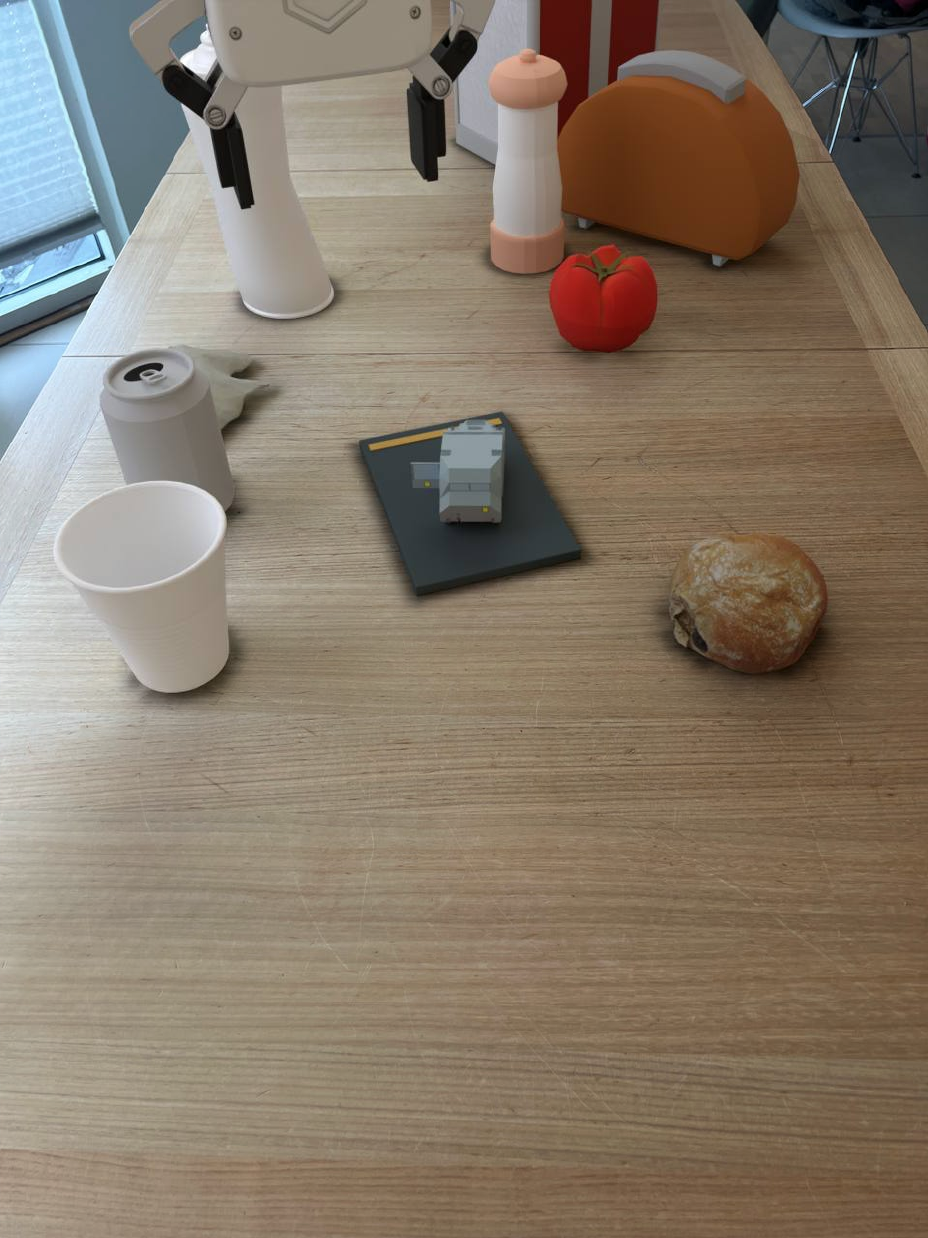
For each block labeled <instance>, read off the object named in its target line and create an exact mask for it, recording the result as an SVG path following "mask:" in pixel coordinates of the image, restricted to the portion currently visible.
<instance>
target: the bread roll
mask: <svg viewBox="0 0 928 1238" xmlns="http://www.w3.org/2000/svg"><path fill="white" fill-rule="evenodd" d="M824 577H825V575H823V574H822V572H821V571H820V568H819V567H818V566H817V563H815V561H814V560H813V559H812V558H811V557H810V556H809V554H807V553H806V551H804V549H802V548H801V547H800V546H799V544H797V543H795V542H794V541H792V540H791V539H788V538H786V537H785V536H783V535H780V534H764V533H763V532H752V533H750V534H725V535H716V536H711V537H708V538H705V539H702V540H700V541H698V542H696V543H695V544H693V545H692V546H691V547H690V548H689V549H687V550H686V551H685V552H684V553H683V555H682V556H681V557H680V558H679V560H678V562H677V564H676V565H675V567H674V569H673V572H672V574H671V577H670V579H669V586H668V589H669V597H668V598H669V599H668V601H669V608H668V612H669V615H670V619H671V622H672V623H673V625H674V628H673V637H674V638H675V640H676V641H677V644H680V645H681V646H683V647H684V648H689V649H691V650H693V651H695V652H697V653H698V654H700V655H701V656H703V657H705V658H706V659H709V660H711V661H713V662H716V663H718V664H721V665H723V666H725V667H727V668H729V669H730V670H733V671H737V672H741V673H745V674H753V675H755V674H765V673H771V672H774V671H778V670H781V669H782V670H783V669H785V668H787V667H789V666H791V665H794V664H795V663H797V662H798V660H799V659H800V658H801V656H803V654H804V652H805V651H806V649H807V648H808V647H809V645H810V644H811V643H812V641H813V640H814V638H815V637H816V635H817V631H818V630H819V628H820V627H821V625H822V622H823V620H824V617H825V616H826V613H827V609H828V603H829V602H828V601H829V599H828V589H827V583H826V581H825V579H824Z"/></svg>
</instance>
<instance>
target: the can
mask: <svg viewBox="0 0 928 1238" xmlns="http://www.w3.org/2000/svg"><path fill="white" fill-rule="evenodd" d="M102 385H103V388H102V391H101V392H100V394H99V407H100V411H101V413H102V416H103V419H104V422H105V425H106V429H107V431H108V434H109V437H110V440H111V443H112V446H113V449H114V452H115V454H116V458H117V460H118V464H119V467H120V470H121V473H122V477H123V479H124V482H125V486H126V485H130V484H134V483H141V482H148V481H173V482H182V483H185V484H189V485H193V486H196V487H198V488H200V489H203V490H205V491H206V492H208V493H209V494H211V495H212V496H213V497H215V498H216V500H217V501H218V502H219V503H220V505H221V506H222V508H223V510H224V513H225V512H226V511H227V510H228V509H229V508H230V506H232V503H233V501H234V499H235V495H236V491H235V483H234V479H233V475H232V471H231V468H230V463H229V459H228V455H227V451H226V450H227V449H226V447H225V443H224V439H223V435H222V429H221V430H220V426H219V422H218V418H217V414H216V409H215V405H214V401H213V397H212V393H211V389H210V385H209V381H208V378H207V376H206V375H205V374H204V373H203V371H202V370H200V369H198V368H196V367H195V362H194V361H193V360H192V358H191V357H190V356H189V355H187V354H185V353H183V352H181V351H178V350H173V349H168V347H167V348H159V347H158V348H157V347H156V348H155V347H154V348H147V349H142V350H137V351H135V352H132V353H128V354H126V355H125V356H122V357H120V358H119V359H117V360H115V361H114V362H113V363H112V364H111V365H110V366H108V367H107V369H106V370H105V372H104V373H103V376H102Z"/></svg>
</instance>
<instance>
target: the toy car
mask: <svg viewBox="0 0 928 1238" xmlns="http://www.w3.org/2000/svg"><path fill="white" fill-rule="evenodd" d="M452 427H453V426H451V428H448V431H443V438H442V446H441V454H440V463H432V462H411V474H412V484H413V488H440V521H443V522H449V523H450V522H451V521H459V519H460V522H493V523H500V522H501V519H502V498H503V484H504V463H505V446H504V444H505V428H499V427H501V426H499V427H498V428H496V426H495V425H494V423H488V422H487V421H486V420H466V421H465V422H464V423H460V425H459V426H458V428H454V427H453V428H452Z"/></svg>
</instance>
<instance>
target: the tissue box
mask: <svg viewBox="0 0 928 1238" xmlns="http://www.w3.org/2000/svg"><path fill="white" fill-rule="evenodd" d="M662 8H663V0H495V4H494V6H493V9H492V11H491V14H490V16H489V19H488V21H487V23H486V26H485V28H484V31H483V33H482V35H480V37H479V40H478V42H477V43H478V48H477V52H476V54H475V55H474V57H473V58H472V59H471V60H470V62H469V63H468V64H467V66H466V67H465V68H464V69H463V71H462V72H461V73H460V75H459V76H458V77H457V78H456V80H455V81H454V82H453V102H454V103H453V104H454V122H455V123H454V124H455V125H454V126H455V143H456V144H457V145H458V146H460V147H462V148H464V149H466V150H468V151H469V152H471V153H473V154H475V155H477V156H478V157H480V158H482V159H484V160H486V161H488V162H489V163H491V164H493V165H495V166H496V160H497V152H498V103H497V102H496V101H495V100H494V99H493V98H492V96H491V93H490V90H489V85H488V83H489V79H490V75H491V73H492V72H493V70H494V68H495V67H496V65H497V64H498V63H500V62H502V61H504V60H506V59H508V58H510V57H513V56H516V55H519V54H520V52H521V51H522V50H524V49H532V50H534V51H535V52H536V54H537V55H543V56H545V57H548V58H550V59H553V60H555V61H557V62H558V63H559V64H560V65H561V67H562V68H563V70H564V72H565V75H566V79H567V87H566V90H565V92H564V94H563V96H562V98H561V100H559V101H558V119H557V140H558V138H559V136H560V133H561V131H562V129H563V127H564V126H565V124H566V123H567V121H568V120H569V118H570V117H571V115H572V114H573V113H574V111H575V110H576V108H577V107H578V105H579V104H581V103H582V102H583V101H585V100H586V99H588V98H589V97H591V96H592V95H594V94H595V93H597V92H598V91H600V90H601V89H603V88H605V87H607V86H608V85H610V84H612V83H613V82H615V81H617V78H618V67H619V66H621V65H623V64H624V63H626V62H628V61H630V60H631V59H633V58H635V57H637V56H638V55H642V54H647V53H651V52H655V51H659V47H660V46H659V44H660V32H661V21H662ZM456 10H457V5H456V3H454V2H452V1H450V0H449V12H450V27H451V26H452V24H453V22H454V17H455V14H456Z"/></svg>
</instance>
